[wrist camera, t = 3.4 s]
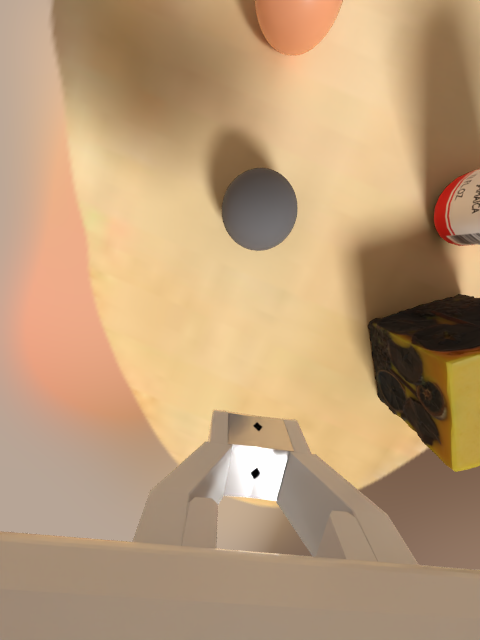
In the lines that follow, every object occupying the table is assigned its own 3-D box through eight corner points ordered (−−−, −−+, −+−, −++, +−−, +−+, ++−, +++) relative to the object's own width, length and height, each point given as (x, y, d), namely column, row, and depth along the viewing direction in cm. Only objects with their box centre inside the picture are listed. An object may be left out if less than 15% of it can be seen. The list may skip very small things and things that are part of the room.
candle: (460, 292, 25) (604, 314, 15) (464, 377, 28) (590, 441, 18) (364, 319, 25) (446, 357, 16) (377, 400, 28) (454, 476, 18)
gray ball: (228, 175, 21) (228, 144, 16) (294, 189, 22) (316, 164, 16) (218, 245, 23) (214, 241, 17) (279, 256, 23) (296, 256, 18)
